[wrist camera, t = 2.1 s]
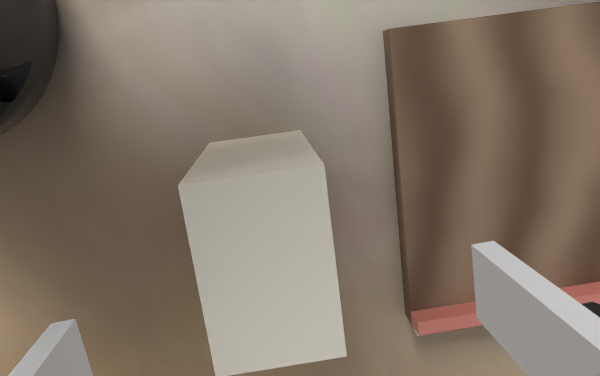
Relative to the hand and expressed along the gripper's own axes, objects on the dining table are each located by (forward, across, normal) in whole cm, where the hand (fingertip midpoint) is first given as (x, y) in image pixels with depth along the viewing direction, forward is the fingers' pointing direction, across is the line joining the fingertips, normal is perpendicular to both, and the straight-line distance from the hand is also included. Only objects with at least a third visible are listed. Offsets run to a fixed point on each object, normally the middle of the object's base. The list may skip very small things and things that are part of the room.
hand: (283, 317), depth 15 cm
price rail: (+15, +16, -11) cm, 25 cm away
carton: (+17, -1, -1) cm, 17 cm away
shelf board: (+17, +16, -1) cm, 23 cm away
